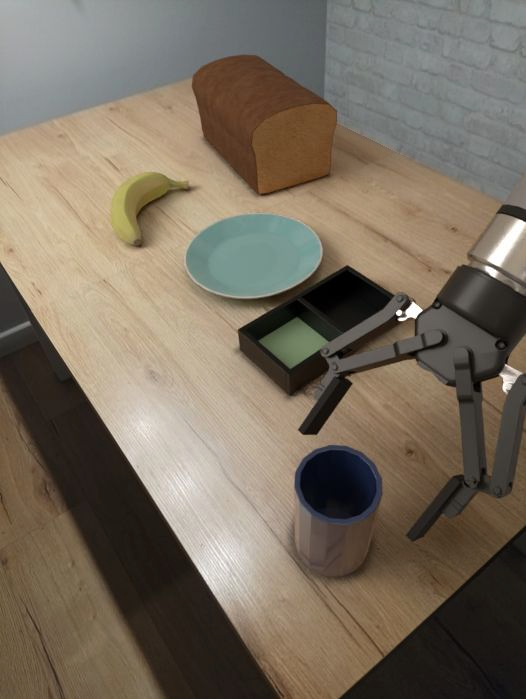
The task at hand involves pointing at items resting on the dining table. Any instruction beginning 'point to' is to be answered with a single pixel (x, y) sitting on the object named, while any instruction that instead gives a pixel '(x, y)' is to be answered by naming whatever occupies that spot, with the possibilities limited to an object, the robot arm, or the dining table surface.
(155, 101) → the dining table surface
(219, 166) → the dining table surface
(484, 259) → the robot arm
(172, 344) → the dining table surface
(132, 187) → the banana
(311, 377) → the tray
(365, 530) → the cup
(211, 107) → the bread
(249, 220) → the plate
